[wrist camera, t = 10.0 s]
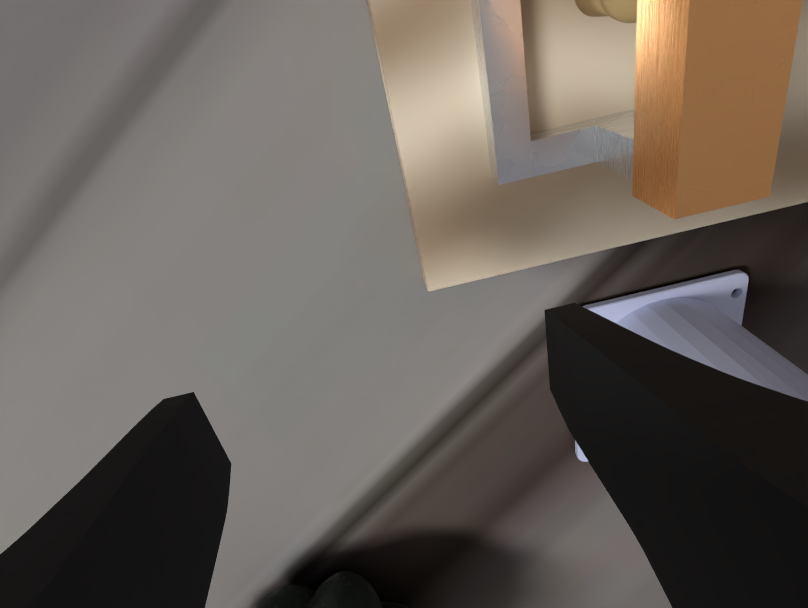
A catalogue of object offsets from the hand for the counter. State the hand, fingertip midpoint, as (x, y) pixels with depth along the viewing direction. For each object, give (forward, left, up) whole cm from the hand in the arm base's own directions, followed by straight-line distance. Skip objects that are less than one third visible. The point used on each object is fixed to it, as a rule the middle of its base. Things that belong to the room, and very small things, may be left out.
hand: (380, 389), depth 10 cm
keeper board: (+6, -10, -10) cm, 16 cm away
